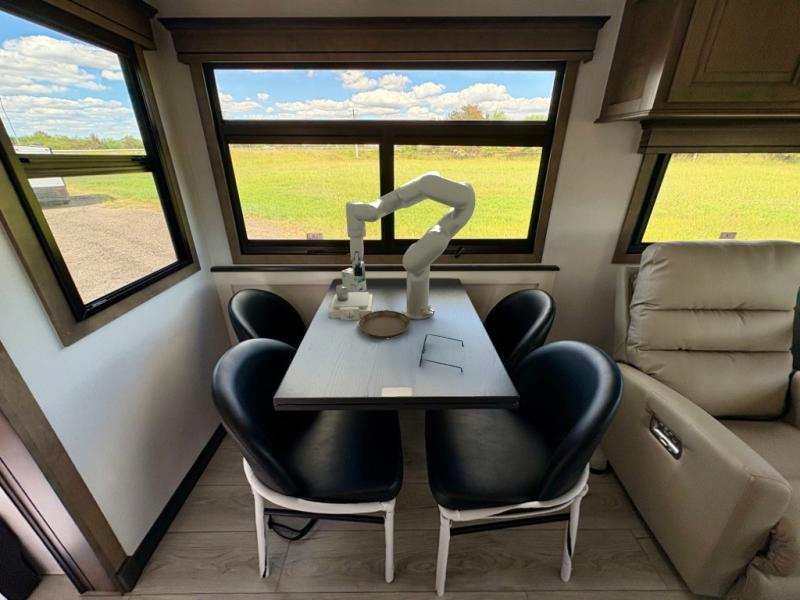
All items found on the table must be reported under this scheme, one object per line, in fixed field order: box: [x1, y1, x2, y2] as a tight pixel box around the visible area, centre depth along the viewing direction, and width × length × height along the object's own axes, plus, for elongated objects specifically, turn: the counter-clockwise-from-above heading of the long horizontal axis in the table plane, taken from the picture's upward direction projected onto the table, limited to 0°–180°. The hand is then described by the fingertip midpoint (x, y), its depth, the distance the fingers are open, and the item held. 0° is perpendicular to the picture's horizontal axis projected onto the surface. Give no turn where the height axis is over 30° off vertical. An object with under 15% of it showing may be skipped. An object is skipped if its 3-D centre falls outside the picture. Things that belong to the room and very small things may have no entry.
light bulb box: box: [341, 267, 367, 292], centre depth 169 cm, size 11×7×11 cm, turn 58°
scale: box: [328, 291, 374, 321], centre depth 149 cm, size 18×21×5 cm
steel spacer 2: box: [351, 259, 366, 277], centre depth 144 cm, size 5×5×6 cm
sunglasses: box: [419, 333, 465, 373], centre depth 115 cm, size 17×15×5 cm
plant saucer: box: [358, 309, 411, 340], centre depth 134 cm, size 21×21×3 cm
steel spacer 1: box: [335, 283, 349, 301], centre depth 148 cm, size 5×5×6 cm
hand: (359, 273), depth 145 cm, fingers closed on steel spacer 2, 5 cm apart
